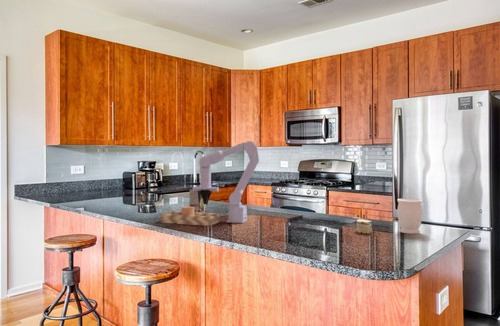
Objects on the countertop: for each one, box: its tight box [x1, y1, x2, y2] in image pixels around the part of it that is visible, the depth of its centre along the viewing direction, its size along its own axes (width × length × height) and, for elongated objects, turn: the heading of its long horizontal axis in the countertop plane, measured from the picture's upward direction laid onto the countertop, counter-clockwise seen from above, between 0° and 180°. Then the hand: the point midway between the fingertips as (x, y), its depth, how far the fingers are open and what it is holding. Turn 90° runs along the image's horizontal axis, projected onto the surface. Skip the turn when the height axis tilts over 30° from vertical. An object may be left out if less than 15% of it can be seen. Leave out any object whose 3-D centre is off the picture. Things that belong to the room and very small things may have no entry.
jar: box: [396, 197, 423, 235], centre depth 170 cm, size 11×10×15 cm
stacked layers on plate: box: [356, 218, 373, 235], centre depth 171 cm, size 10×9×6 cm
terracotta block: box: [180, 205, 195, 216], centre depth 199 cm, size 5×5×5 cm
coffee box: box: [189, 188, 206, 213], centre depth 218 cm, size 9×6×16 cm
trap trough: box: [160, 210, 220, 227], centre depth 198 cm, size 29×11×4 cm, turn 71°
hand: (205, 204), depth 199 cm, fingers closed
